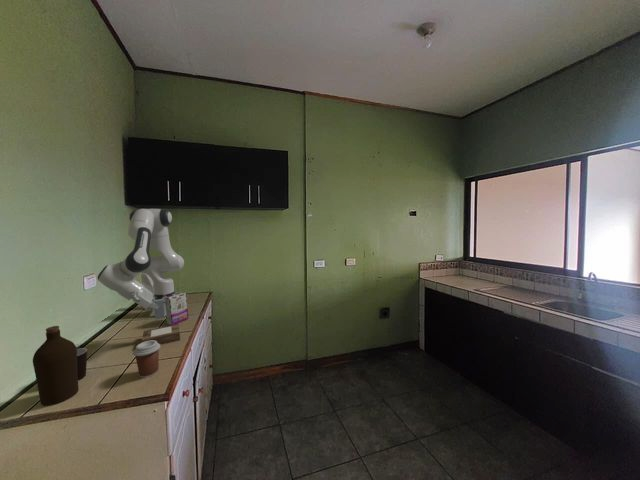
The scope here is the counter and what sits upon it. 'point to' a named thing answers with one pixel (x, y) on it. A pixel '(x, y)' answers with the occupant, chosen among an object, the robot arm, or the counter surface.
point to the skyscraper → (147, 285)
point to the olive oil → (56, 368)
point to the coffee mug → (81, 362)
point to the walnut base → (162, 334)
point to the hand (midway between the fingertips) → (158, 306)
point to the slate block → (159, 309)
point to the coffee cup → (147, 358)
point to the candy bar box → (176, 308)
